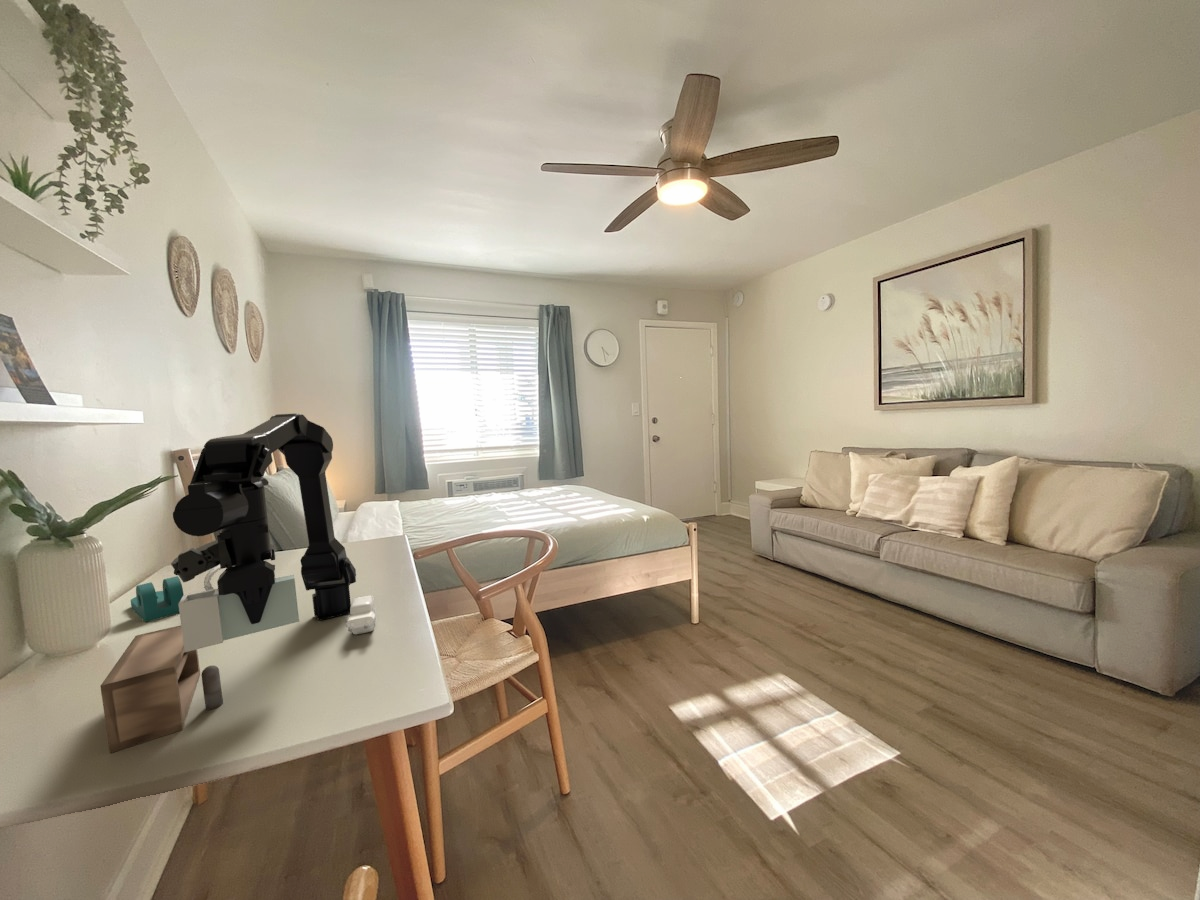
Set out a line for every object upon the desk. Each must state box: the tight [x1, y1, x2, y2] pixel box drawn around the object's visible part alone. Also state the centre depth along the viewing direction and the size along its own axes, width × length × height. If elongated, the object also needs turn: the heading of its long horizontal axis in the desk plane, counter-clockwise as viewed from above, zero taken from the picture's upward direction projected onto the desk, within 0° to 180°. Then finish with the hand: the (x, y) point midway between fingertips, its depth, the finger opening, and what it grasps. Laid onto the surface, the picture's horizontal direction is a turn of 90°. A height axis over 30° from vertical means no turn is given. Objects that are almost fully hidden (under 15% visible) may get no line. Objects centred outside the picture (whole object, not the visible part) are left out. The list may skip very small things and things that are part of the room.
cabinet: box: [100, 624, 224, 754], centre depth 70 cm, size 11×18×9 cm, turn 35°
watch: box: [203, 564, 234, 591], centre depth 106 cm, size 6×8×11 cm
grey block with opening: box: [178, 574, 300, 652], centre depth 71 cm, size 14×4×7 cm, turn 125°
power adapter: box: [345, 595, 376, 635], centre depth 90 cm, size 11×5×6 cm, turn 21°
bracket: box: [130, 575, 185, 623], centre depth 110 cm, size 18×7×8 cm, turn 54°
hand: (256, 620), depth 72 cm, fingers closed on grey block with opening, 2 cm apart
